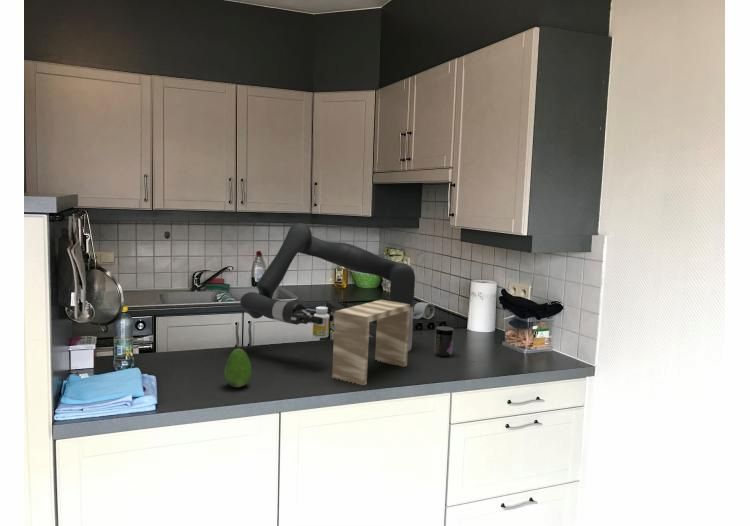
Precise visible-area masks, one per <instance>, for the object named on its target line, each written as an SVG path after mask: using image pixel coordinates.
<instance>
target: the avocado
mask: <svg viewBox="0 0 750 526" xmlns="http://www.w3.org/2000/svg"><path fill="white" fill-rule="evenodd" d="M224 366H225V367H224V379H225V381H226V383H227V384H229V386H231V387H233V388H237V389H238V388H241V387H244V386H245V385H246V384H247V383H248V382H249V381H250V379H251V376H252V364H251V360H250V358H249V356H248V353H247V352H246V351H245V350H243V348H239V347H238V348H235V349H234V350H232V351H231V353H230V355H229V357H228V359H227V361H226V364H225V365H224Z"/></svg>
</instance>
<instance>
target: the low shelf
mask: <svg viewBox="0 0 750 526" xmlns="http://www.w3.org/2000/svg"><path fill="white" fill-rule="evenodd" d="M409 316H410V304H405V303H398V302H392V301H389V300H385V299H378V300H374V301H370V302H366V303H362V304H358V305H353V306H350V307H347V308H346V307H345V308H342V309H338V310H334V320H333V344H332V346H333V348H332V349H333V350H332V374H331V377H332V379H334V378H336V379H335V380H338V379H340V380H339V381H342V380H343V382H346V381H348V382H347V383H350V382H352V383H351V384H354V383H356V384H355V385H358V384H359V386H362V387H363V385H364V386H365V385H368V384H367V383H368V382H367V381H368V366H369V365H368V361H369V358H368V357H369V340H370V323H371V322H375V321H376V330H375V331H376V333H375V334H376V335H375V355H374V361H375V360H377V362H380V361H381V362H380V363H383V364H389V365H395V366H397V365H398V366H399V367H402V368H405V367H407V366H408V352H409V351H408V335H409ZM398 366H397V367H398Z"/></svg>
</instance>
